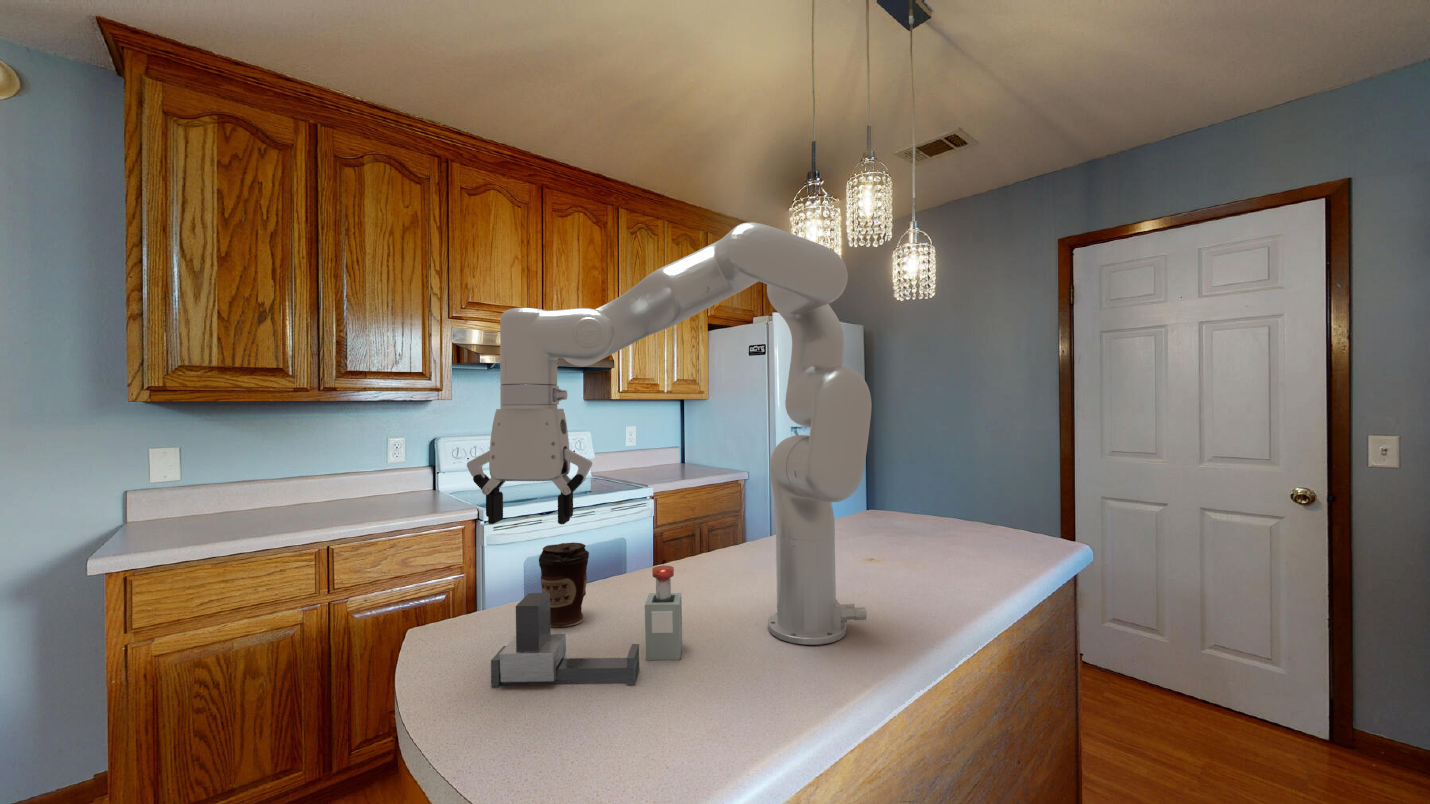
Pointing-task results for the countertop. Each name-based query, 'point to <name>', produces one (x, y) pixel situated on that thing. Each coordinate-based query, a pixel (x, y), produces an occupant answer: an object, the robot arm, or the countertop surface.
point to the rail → (583, 670)
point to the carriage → (532, 643)
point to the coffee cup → (564, 581)
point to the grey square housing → (663, 628)
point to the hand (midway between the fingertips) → (529, 522)
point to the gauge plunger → (663, 582)
